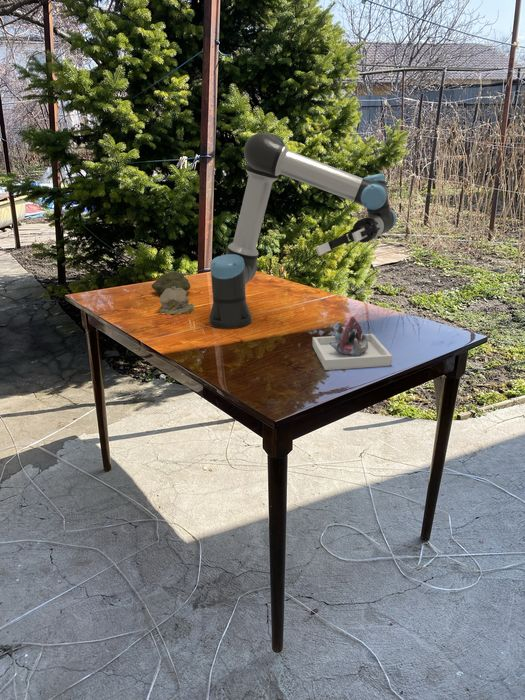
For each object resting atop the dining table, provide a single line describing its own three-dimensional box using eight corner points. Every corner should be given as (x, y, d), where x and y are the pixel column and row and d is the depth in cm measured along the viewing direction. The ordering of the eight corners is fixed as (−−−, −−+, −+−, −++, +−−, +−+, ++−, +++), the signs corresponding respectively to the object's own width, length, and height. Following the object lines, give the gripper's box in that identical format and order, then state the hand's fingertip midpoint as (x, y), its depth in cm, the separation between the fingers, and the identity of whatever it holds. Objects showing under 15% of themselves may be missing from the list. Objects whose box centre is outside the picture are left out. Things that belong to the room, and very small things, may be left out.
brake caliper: (361, 354, 148) (340, 317, 149) (334, 369, 156) (314, 334, 157) (381, 343, 156) (360, 308, 157) (354, 357, 164) (335, 324, 165)
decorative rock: (162, 300, 221) (159, 277, 217) (149, 292, 234) (147, 270, 230) (194, 294, 228) (193, 272, 224) (181, 287, 241) (179, 266, 237)
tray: (325, 370, 147) (325, 360, 146) (312, 346, 164) (312, 337, 163) (391, 365, 148) (392, 355, 147) (372, 342, 166) (372, 333, 165)
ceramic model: (155, 315, 201) (152, 290, 198) (161, 307, 212) (159, 283, 208) (191, 315, 200) (189, 289, 197) (196, 306, 211) (194, 282, 207)
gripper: (405, 227, 164) (375, 243, 149) (340, 250, 181) (308, 268, 166) (397, 204, 163) (366, 218, 148) (333, 230, 180) (299, 245, 165)
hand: (335, 244), depth 157 cm, fingers open, 13 cm apart
